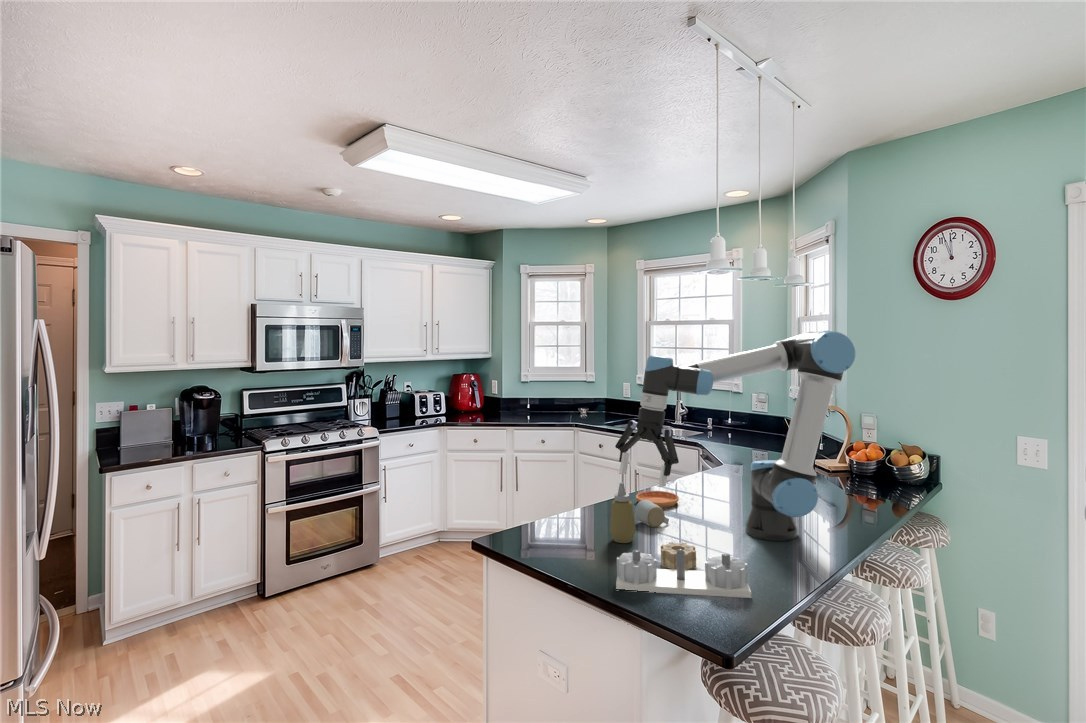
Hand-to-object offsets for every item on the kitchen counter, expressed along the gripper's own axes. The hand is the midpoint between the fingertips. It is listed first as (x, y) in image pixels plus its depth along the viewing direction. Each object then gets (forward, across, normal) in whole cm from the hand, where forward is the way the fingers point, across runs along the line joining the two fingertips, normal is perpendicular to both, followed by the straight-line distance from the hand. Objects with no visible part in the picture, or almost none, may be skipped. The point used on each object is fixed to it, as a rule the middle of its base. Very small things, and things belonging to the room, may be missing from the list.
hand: (641, 480), depth 164 cm
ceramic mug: (+20, -8, +26) cm, 33 cm away
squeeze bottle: (+22, -7, +6) cm, 24 cm away
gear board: (+20, +22, -11) cm, 32 cm away
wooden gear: (+20, +15, 0) cm, 25 cm away
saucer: (+19, -20, +47) cm, 55 cm away
